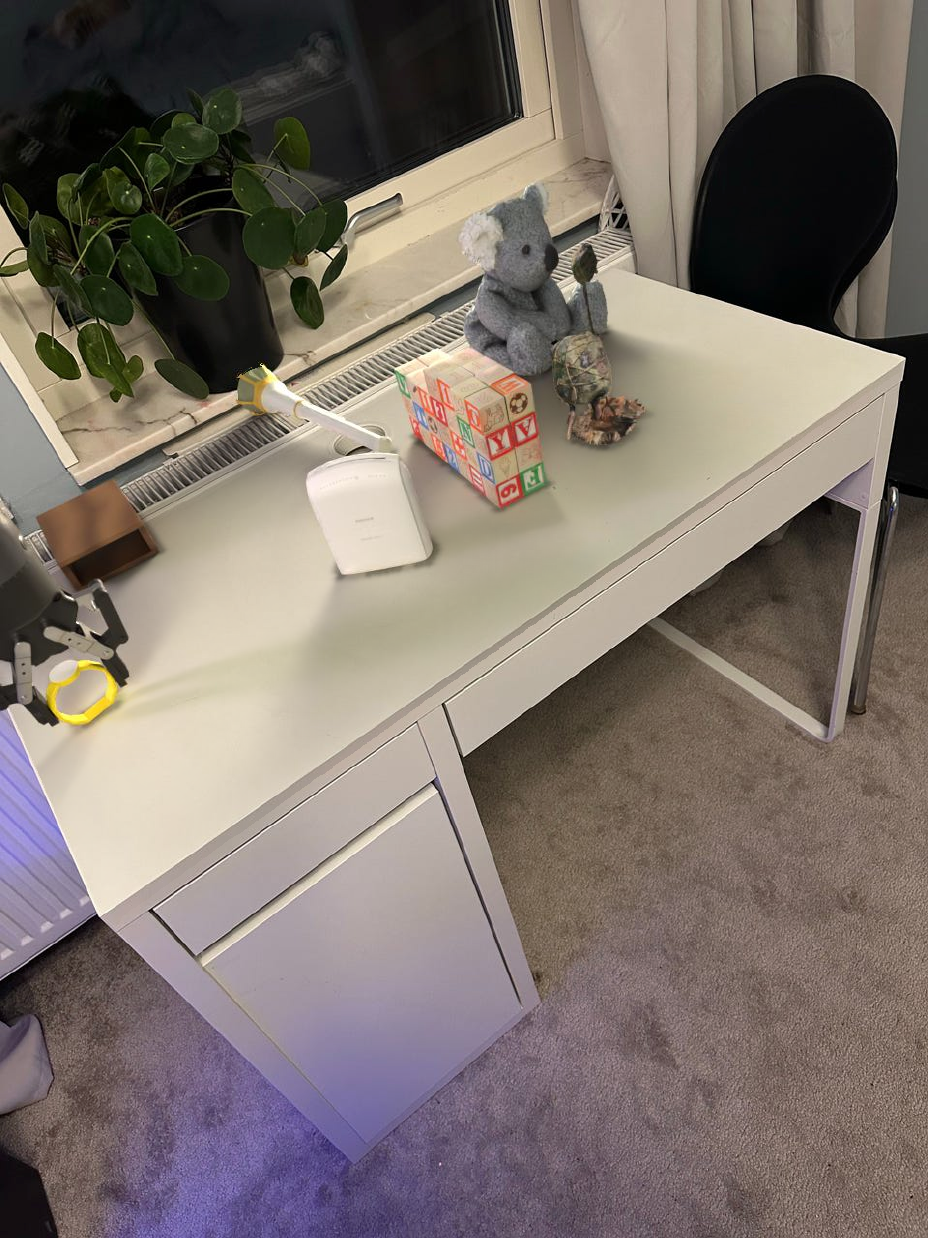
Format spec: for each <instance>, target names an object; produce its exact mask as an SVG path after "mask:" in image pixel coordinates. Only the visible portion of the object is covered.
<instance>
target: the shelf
mask: <svg viewBox="0 0 928 1238" xmlns="http://www.w3.org/2000/svg"><path fill="white" fill-rule="evenodd" d="M35 520H36V521H37V524H38V526H39V527H40V530H41V533H42V535H43V537H44V539H45V541H46V543H47V545H48V547H49V549H50V551H51V554H52V555H53V558H54V559H55V562H56V564H57V566H58V567H59V569H60V570H61V572H62V573H63V574H64V576H65V578H66V579H67V580H68V582H69V583H70V585H71V586H72V587H73V589H74V590H75V592H79V591H81V590H84V589H86V588H89V587H88V584H89V582H90V581H91V580H93V579H99V580H101V581H102V583H103V582H105V581H107V580H109V579H110V578H113V577H115V576H117V575H119V574H121V573H122V572H124V571H126V570H128V569H130V568H132V567H135V566H136V565H138V564H140V563H142V562H144V561H145V560H147V559H149V558H152V557H153V556H155V555H157V554H159V553H160V550H159V548H158V546H157V545H156V543H155V541H154V540H153V538H152V536H151V534H150V532H149V531H148V529H147V527H146V526H145V524H144V522H143V521H142V519H141V518H140V516H139V515H138V513H137V512H136V510H135V509H134V507H133V506H132V505H131V503H130V501H129V500H128V498H127V497H126V496H125V494H124V492H123V491H122V490H121V488H120V486H119V485H118V484H117V482H116V480H115V479H113V478H112V479H109V480H108V481H106V482H104V483H102V484H100V485H98V486H96V487H94V488H92V489H89V490H87V491H86V492H84V493H81V494H79V495H77V496H75V497H73V498H71V499H69V500H67V501H65V502H62V503H61V504H59V505H57V506H55V507H53V508H50V509H49V510H47V511H45V512H43V513H40V514H39V515H36V516H35Z"/></svg>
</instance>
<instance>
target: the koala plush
mask: <svg viewBox="0 0 928 1238" xmlns="http://www.w3.org/2000/svg"><path fill="white" fill-rule="evenodd" d="M549 195H550V193H549V191H548V189H547V188H546V186H545V183H544V182H543V181H542V182H541V181H540V182H534V181H533V180H532V181H531V184H529V185H527V186H526V187H525V188H524V191H523V193H522V194H521V195H520V197H515V198H510V199H506V200H505V201H502V202H498V203H496V204H495V205H494V206H492V207H491V208H490V209H489V210H488V211H486V212H483V211H481V212H480V211H477V212H473V214H472V216H469V218H467V220H466V221H465V222H464V227H461V228H460V230H461V232H460V233H459V235H458V237H457V238H456V242H459V243H462V244H461V252H462V255H463V256H466V259H468V262H469V263H470V264H474V265H476V266H479V267H480V270H483V272H484V273H483V275H482V279H481V282H480V284H479V286H478V289H477V294H476V296H475V301H474V302H473V303H472V306H471V307H470V308H469V309H468V311H467V312H466V314H465V316H464V318H463V320H462V323H463V324H462V327H463V328H462V330H463V334H464V337H465V339H466V340H467V343H468V345H469V347H470V348H472V349H473V350H475V351H477V352H479V353H481V354H482V355H483V356H486V357H488V358H490V359H492V360H493V361H495V362H497V363H498V364H501V365H502V366H504V367H506V368H508V369H509V370H511V371H513V372H514V375H517V376H524V377H525V376H529V377H530V376H533V377H534V376H540V375H542V374H543V373H545V372H547V371H549V369H551V367H552V363H551V357H550V351H551V350H550V349H551V348H552V347H553V346H554V344H552V343H553V342H558V341H560V340H561V339H563V338H565V337H567V336H572V335H576V334H579V333H581V332H585V331H589V332H590V333H592V332H591V331H590V326H589V321H588V316H587V312H586V305H585V300H584V295H583V288H582V287H583V286H582V284H580V283H577V284H576V286H575V287H574V288H573V290H572V292H571V293H570V295H569V297H568V301H566V298H565V297H564V294H563V292H562V290H561V288H560V287H559V286H558V284H557V282H556V280H554V279H553V277H552V274H553V271H555V270H556V269H557V267H558V265H559V263H560V257H559V251H558V248H557V247H556V246H555V243H554V241H553V238H552V234H551V232H550V228H549V226H548V224H547V222H546V220H545V216H547V213H548V212H549V206H550V204H551V203H550V202H549ZM586 290H587V295H588V296H587V298H588V304H589V310H590V313H591V320H592V325H593V329H594V332H595V335H597V336H598V335H601V334H603V333H604V332H606V329H607V326H608V315H609V311H608V303H607V298H606V293H605V290H604V286H603V284H602V283H601V282H599V279H598V278H596V279H594V280H591V281H590V282H586ZM547 341H549V343H548V344H547Z"/></svg>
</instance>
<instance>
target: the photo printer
mask: <svg viewBox="0 0 928 1238" xmlns="http://www.w3.org/2000/svg"><path fill="white" fill-rule="evenodd" d="M306 476H307V477H306V479H305V485H306V486H305V487H306V490H307V497H308V499H309V502H310V504H311V507H312V510H313V511H314V515H315V516H316V519H317V521H318V523H319V525H320V528H321V530H322V533H323V535H324V537H325V539H326V540H325V541H326V542H327V544H328V547H329V550H330V552H331V554H332V556H333V558H334V561H335V563H336V565H337V568H338V570H339V572H340V574H341V575H356V574H362V573H367V572H368V573H369V572H373V571H380V570H386V569H391V568H397V567H400V566H407V565H410V564H415V563H419V562H423V561H426V560H427V559H429V558H430V557H431V555H432V553H433V550H434V545H433V542H432V539H431V536H430V532H429V530H428V527H427V523H426V520H425V517H424V513H423V511H422V508H421V505H420V502H419V497H418V495H417V493H416V489H415V486H414V482H413V480H412V477H411V474H410V470H409V469H408V467H407V466H406V464H405V461H404V459H403V457H402V456H401V454H397V453H391V452H390V453H376V452H366V453H358V454H351V455H346V456H343V457H340V458H336V459H333V460H330V461H328V462H325V463H323V464H321V465H319V466H317V467H316V468H315V467H314V469H312V470H310V471H309V472H307V474H306Z"/></svg>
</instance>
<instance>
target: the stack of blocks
mask: <svg viewBox="0 0 928 1238" xmlns="http://www.w3.org/2000/svg"><path fill="white" fill-rule="evenodd" d="M393 371H394V375H395V378H396V382H397V384H398V388H399V392H400V393H401V395H402V399H403V403H404V406H405V409H406V413H407V414H408V418H409V423H410V425H411V428H412V429H411V430H412V432H413V435H414V436H415V437H417V439H419V440H420V441H421V442H423V443H424V445H425V446H427V447H428V448H429V449H430V450H431V451H432V452H433V453H435V454H436V455H437V456H438V457H440V459H442V460H443V461H444V462H445V463H446V464H448V465H449V466H451V467H452V468H453V469H454V470H455V471H457V472H458V473H459V474H461V476H463V477H464V478H465V479H466V480H468V481H469V483H471V484H472V485H473V487H475V488H476V489H477V490H478V491H479V492H480V493H482V494H483V496H485V497H486V498H487V499H488V500H489V501H490V502H491V503H493V504H494V505H495V506H496V507H497V508H499V509H502V508H504V507H506V506H508V505H510V504H512V503H514V502H515V501H517V500H519V499H521V498H523V497H524V496H527V495H528V494H530V493H532V492H534V491H537V490H538V489H540V488H542V487H544V486H546V485H547V477H546V469H545V468H546V467H545V462H544V460H543V454H542V448H541V447H542V445H541V442H540V441H541V440H540V437H539V436H540V431H539V425H538V419H537V412H536V409H535V403H534V394H533V388H532V384H531V382H529V381H527V380H525V379H524V378H522V377H520V375H518V374H514V372H513V371H511V370H509V369H508V368H506V367H504V366H502V364H501V363H497V362H495V361H493V360H492V359H490V358H488V357H486V356H483V355H482V354H481V353H479V352H477V351H475V350H473V349H472V348H471V346H469V347H466V348H464V349H462V350H459V351H458V352H456V353H454V354H452V355H448V354H447V353H446V352H444V351H442V350H441V349H439V348H436V349H433V350H431V351H429V352H427V353H424V354H421V355H420V356H418V357H415V359H412V360H410V361H407V362H406V363H403V364H401V365H399V366H397V367H395V368H394V369H393Z"/></svg>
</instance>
